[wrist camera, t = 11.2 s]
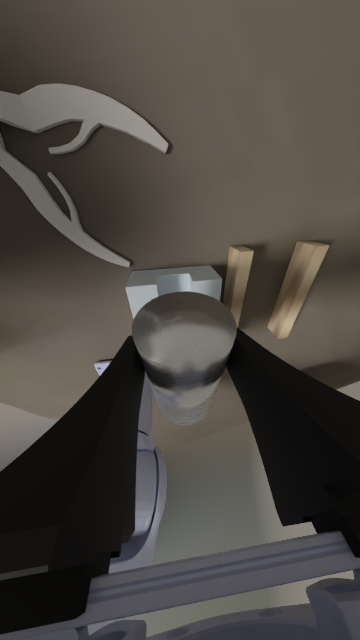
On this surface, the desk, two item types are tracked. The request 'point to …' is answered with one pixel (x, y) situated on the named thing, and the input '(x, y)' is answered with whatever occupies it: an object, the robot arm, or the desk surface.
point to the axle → (184, 351)
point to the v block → (171, 284)
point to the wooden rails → (292, 289)
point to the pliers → (67, 145)
